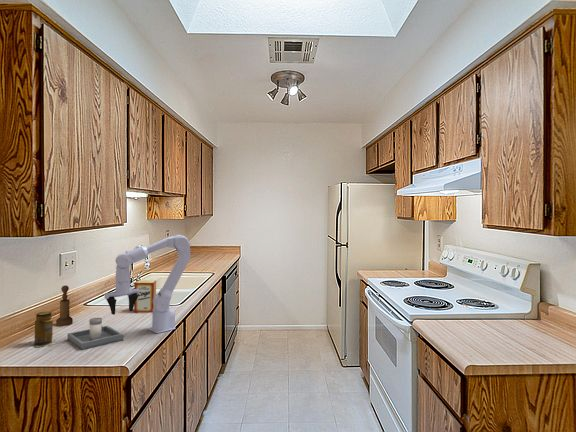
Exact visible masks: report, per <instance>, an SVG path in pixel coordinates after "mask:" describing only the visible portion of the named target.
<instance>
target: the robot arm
mask: <svg viewBox="0 0 576 432" xmlns="http://www.w3.org/2000/svg"><path fill="white" fill-rule="evenodd" d="M165 248H172V249H175V250H176V253H177V255H178V258H177V259H176V261H175V264H174V265H173V267H172V269H171V270H170V273H169V275H168V277H167V278H166V280H165V282H164V284H163V286H162V287H161V288H160V289H159V291H158V293H156V295H155V296H154V298H153V304H154V305H155V307H154V308H153V312H151V313H152V320H151V322H152V324H151V327H148V328H147V329H148V330H149V331H151V332H153V333H154V334H159V333H164V332H169V331H173V330H176V328H177V327H175V326H176V313H175V310H174V309H173V308H170V306H171V299H172V296H173V292H174V290H175V289H176V286H177V284H178V283H179V282H180V281H179V280H180V279H181V277H182V275H183V274H184V273H183V272H184V271H185V269H186V268H187V265H188V263H189V261H190V259H191V257H192V256H191V243H190V241H189V239H188V238H187V236H185V235H182V234H175V235H172V236H168V237H166V238H164V239H161V240H158V241H156V242H155V243H152V244H150V245H148V246H143V245H141V246H140V245H137V246H135V248H133V249H131V250H129V251H128V250H125V251H124V253H119V254H118V255H117V256H116V258H115V260H114V261H115V264H116V267H115V291H111V292H105V293H104V299H105V300H106V301H107V303H108V307H109V309H110V313H111V314H112V315H114V316H115V315H116V306H117V299H116V298H118V297H125V296H127V299H128V311H129V312H134V311H133V310H134V304H135V302H136V300H137V298H138V295H137V294H140V290H139V289H135V288H134V289H132V288H131V287H130V286H131V270H130V269H131V267H130V266H131V264H135V263H137V262H139V261H140V262H141V261H142V260H145V259H147V258H148V257H149V255H150V254H153V253H154V252H156V251H160V250H162V249H165Z"/></svg>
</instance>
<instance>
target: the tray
mask: <svg viewBox="0 0 576 432" xmlns="http://www.w3.org/2000/svg"><path fill="white" fill-rule="evenodd" d="M67 341H68V342H70V343H71V344H73V345H74V346H76V347H77V348H79V350H81V351H83V350H87V349H92V348H97V347H101V346H104V345H109V344H113V343H118V342H121V341H124V334H123V333H122V332H119V330H116V329H114V328H113V327H110V326H109V325H103V326H102V330H101V339H96V340H90V328H88V329H84V330H78V331H74V332H69V333H67Z"/></svg>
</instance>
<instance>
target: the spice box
mask: <svg viewBox="0 0 576 432" xmlns="http://www.w3.org/2000/svg"><path fill="white" fill-rule="evenodd" d="M134 289H139V290H140V294H137V295H138V298H137V300H136V302H135V304H134V307H133V310H134V311H133V312H134V314H135V313H136V314H137V313H139V314H140V313H142V314H143V313H147V314H148V313H153V308H154V307H155V305H154V304H153V298H154V296H155V295H157V293H156V292H157V280H148V279H144V280H143V279H141V280H137V281H135V282H134Z"/></svg>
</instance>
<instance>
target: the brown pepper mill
mask: <svg viewBox="0 0 576 432" xmlns="http://www.w3.org/2000/svg"><path fill="white" fill-rule="evenodd" d="M69 289H70V288H69V286H68V285H62V286H61V289H60V290H61V292H62V295H61V298H62V299H60V300H59V317H58V318H57V319H56V320H55V326H56V327H66V326H67V327H68V326H71V325H72V324H73V323H74V322H73V320H74V319H73V317H71V315H70V299H68V295H69V294H68V292H69Z"/></svg>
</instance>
